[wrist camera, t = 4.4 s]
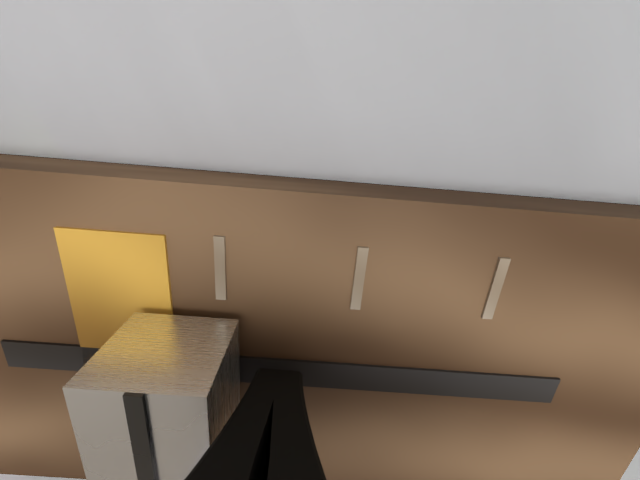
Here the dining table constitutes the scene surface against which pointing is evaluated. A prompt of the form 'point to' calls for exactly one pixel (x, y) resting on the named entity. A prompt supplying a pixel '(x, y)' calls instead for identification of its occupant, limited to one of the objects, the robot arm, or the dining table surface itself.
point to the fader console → (336, 312)
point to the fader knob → (155, 396)
